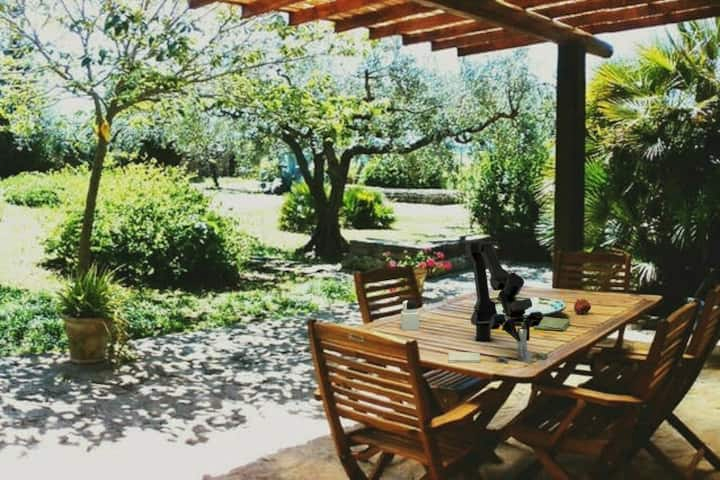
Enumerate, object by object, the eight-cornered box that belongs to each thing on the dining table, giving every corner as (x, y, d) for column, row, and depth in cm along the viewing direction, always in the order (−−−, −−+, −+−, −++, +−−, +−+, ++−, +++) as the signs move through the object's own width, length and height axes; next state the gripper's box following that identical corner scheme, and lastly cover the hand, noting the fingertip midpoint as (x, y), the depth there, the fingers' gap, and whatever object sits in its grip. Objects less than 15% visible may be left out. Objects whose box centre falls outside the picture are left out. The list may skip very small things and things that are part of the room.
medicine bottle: (417, 326, 312) (417, 299, 311) (419, 330, 305) (419, 301, 304) (401, 327, 312) (400, 299, 311) (402, 330, 305) (402, 302, 304)
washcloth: (532, 330, 301) (532, 323, 301) (541, 322, 317) (541, 315, 317) (564, 333, 295) (564, 325, 295) (572, 325, 311) (572, 317, 311)
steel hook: (515, 359, 254) (515, 328, 253) (524, 358, 255) (524, 327, 254) (524, 363, 247) (524, 332, 246) (533, 363, 248) (533, 331, 247)
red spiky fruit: (593, 319, 330) (585, 303, 337) (595, 309, 325) (587, 293, 332) (577, 322, 330) (570, 305, 337) (579, 311, 325) (572, 295, 332)
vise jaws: (494, 360, 253) (494, 356, 253) (542, 356, 257) (542, 352, 257) (500, 363, 248) (500, 360, 248) (549, 359, 253) (549, 356, 252)
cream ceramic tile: (448, 354, 262) (448, 352, 262) (479, 354, 261) (479, 352, 261) (448, 362, 252) (448, 359, 252) (480, 362, 250) (480, 360, 250)
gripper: (492, 292, 252) (506, 329, 243) (541, 289, 257) (556, 325, 247) (483, 310, 261) (496, 347, 251) (530, 307, 265) (545, 343, 255)
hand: (523, 340), depth 251 cm, fingers closed on steel hook, 3 cm apart
